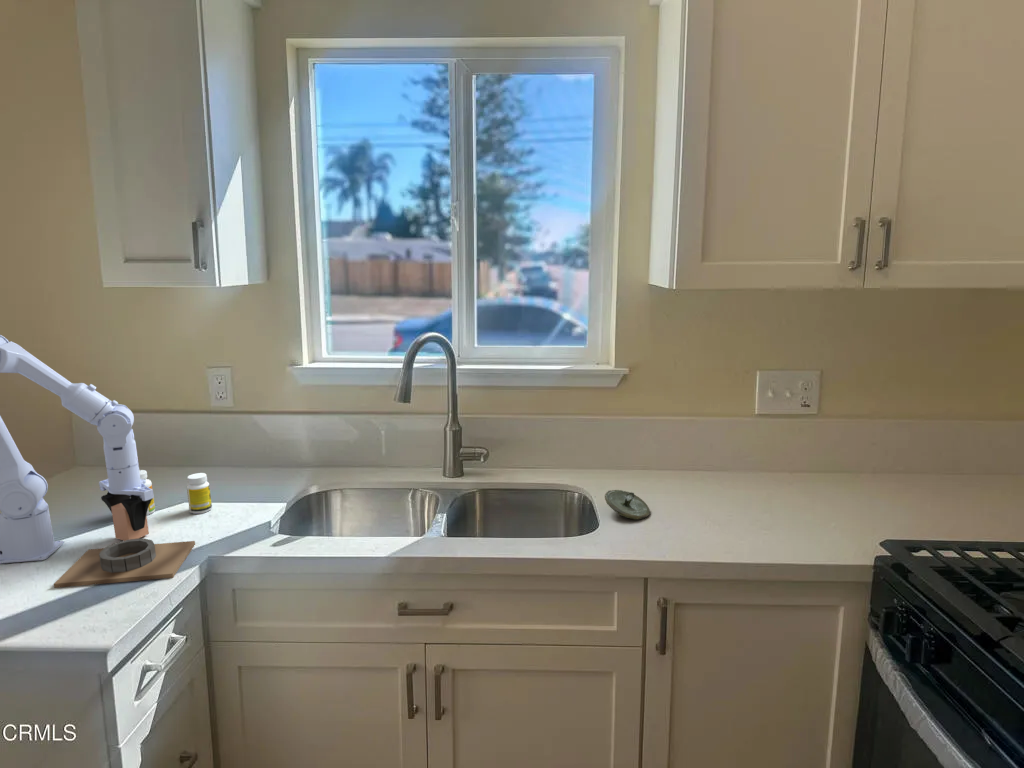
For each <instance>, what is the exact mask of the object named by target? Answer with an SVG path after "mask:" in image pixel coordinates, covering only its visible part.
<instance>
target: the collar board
mask: <svg viewBox="0 0 1024 768" xmlns="http://www.w3.org/2000/svg"><path fill="white" fill-rule="evenodd" d="M194 545H195V546H196V540H189V541H178V542H177V541H176V542H175V541H174V542H165V543H154V541H153V540H152V539H147V538H143V537H140V538H138V539H130V540H125V541H124V540H121V541H118V542H114V543H112V544H110V545H108V546H106V547H103V548H101V547H100V548H99V547H98V548H92V549H91V548H90V549H87V550H86V552H84V553H83V554H82V555H81V556H80V557H79V558H78V559H77V560H76V561H75V562H74V563H73V564H72V565H71V566H70V567H69V568H68V569H67V570H66V571H65V572H64V573H63V574H62V575H61V576H60V577H59V578H58V579H57V580H56V581H55V582H54V583H53V587H54V589H56V588H57V589H59V588H68V587H80V586H90V585H92V586H93V584H94V585H102V584H104V585H105V584H115V583H124V582H136V581H137V582H138V581H148V580H151V581H152V580H161V579H170V578H171V579H172V578H174V577H175V576H176V574H177V572H178V571H179V569H180V568H181V567H182V566H183V563H184V562H185V561H186V559H187V557H188V556H189V555H190V553H191V552H192V550H193V549H194V547H195V546H194ZM192 548H193V549H192Z"/></svg>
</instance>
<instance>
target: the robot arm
mask: <svg viewBox="0 0 1024 768" xmlns="http://www.w3.org/2000/svg"><path fill="white" fill-rule="evenodd" d="M1 373H2V374H19V375H21V376H23V377H25V378H27V379H29V380H30V381H32V382H33V383H35V384H37V385H39V386H40V387H42V388H44V389H46V390H48V391H50V392H51V393H53V394H55V395H57V396H58V397H59V398H60V401H61V406H62V407H63V408H65V409H66V410H68V411H70V412H71V413H73V414H74V415H76V416H78V417H79V418H81V419H82V420H84V421H85V422H87V423H89V424H90V425H92V426H93V425H94V426H96V429H97V432H98V434H99V435H100V436H102V439H103V440H102V441H103V442H102V443H103V446H102V447H103V455H104V459H105V466H106V467H105V468H106V473H107V478H106V479H103V480H100V481H98V487H99V490H100V491H102V492H103V491H107V493H106V494H104V495H101V498H100V500H101V501H102V502H103V503H104V504H105V505H106V507H107V508H108V509H109V511H110V512H111V514H112V510H111V506H114V505H117V504H120V503H122V505H123V506H124V507H125V509H126V511H127V513H128V515H129V519H130V523H131V526H132V529H133V531H137V530H140V529H142V528H144V526H145V520H146V514H147V510H148V507H149V504H150V502H151V500H152V499H153V498H154V499H155V496H154V489H153V488H152V489H150V488H148V487H147V486H146V485H145V483H146V480H144V479H140V471H139V470H140V465H139V464H140V463H139V459H138V458H139V457H138V450H137V443H136V439H135V434H134V429H133V428H132V426H133V425H134V422H135V417H134V416H135V415H134V413H133V411H132V410H131V409H130V408H128V406H127V405H125V404H121V403H120V404H119V402H118V401H116V399H113V400H111V399H109V398H108V397H106V396H105V395H103V394H101V393H100V392H99V391H96V389H97V386H95V385H94V384H92V383H90V384H89V385H88V384H86V383H84V382H78V383H77V382H76V383H74V382H71V381H70V380H68V379H67V378H66V377H64V376H63V375H61V374H60V373H58V372H57V371H55V370H54V369H52V368H51V367H50V366H48V365H47V364H46V363H45V362H43V361H41V360H40V359H38V358H37V357H36V356H34V355H33V354H32V353H30V352H29V351H27V350H26V349H24V347H22V346H21V345H20V344H18V343H15V342H14V341H9V339H8V338H6V337H5V336H3V335H2V334H0V374H1ZM8 429H9V428H7V425H6V424H5V422H4V419H3V418H2V416H1V415H0V564H10V563H21V562H22V563H23V562H33V561H34V562H35V561H45V560H46V559H48V558H49V557H50V556H52V555H53V553H54V552H56V551H57V550H58V549H59V548H60V547H61V546H63V544H65V540H55V538H54V531H53V527H52V521H51V515H50V514H51V513H50V508H49V504H48V503H47V502H46V501H45V499H44V497H45V496H46V494H47V493H48V490H49V489H48V488H49V487H48V486H49V484H48V482H47V480H46V478H45V477H44V476H43V475H41V474H39V473H38V472H37V470H35V468H34V467H33V465H32V464H31V463H30V462H28V461H26V460H25V459H24V457H23V456H22V454H21V452H20V450H19V448H18V446H17V445H16V442H15V441H14V438H13V437H12V435H11V433H10V432H9V430H8ZM130 497H131V498H130Z"/></svg>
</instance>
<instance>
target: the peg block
mask: <svg viewBox="0 0 1024 768" xmlns="http://www.w3.org/2000/svg"><path fill="white" fill-rule="evenodd" d="M111 510H112V513H111V515H112V516H111V517H112V522H113V530H114V536H115V539H118V540H121V541H125V540H130V539H140V538H143V537H145V536H147V535H149V534H150V532H149V525H148V515H146V520H145V526H144V528H142V529H140V530H137V531H133V529H132V526H131V523H130V519H129V515H128V513H127V511H126V509H125V507H124V506H123V505H122V503H120V504H117V505H114V506H111Z"/></svg>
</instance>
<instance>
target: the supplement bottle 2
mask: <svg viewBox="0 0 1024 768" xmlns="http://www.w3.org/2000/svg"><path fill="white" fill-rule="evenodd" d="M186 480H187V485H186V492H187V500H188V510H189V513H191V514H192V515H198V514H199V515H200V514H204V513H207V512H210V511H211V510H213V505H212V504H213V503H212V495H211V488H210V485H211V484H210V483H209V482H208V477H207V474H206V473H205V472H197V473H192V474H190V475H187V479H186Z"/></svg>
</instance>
